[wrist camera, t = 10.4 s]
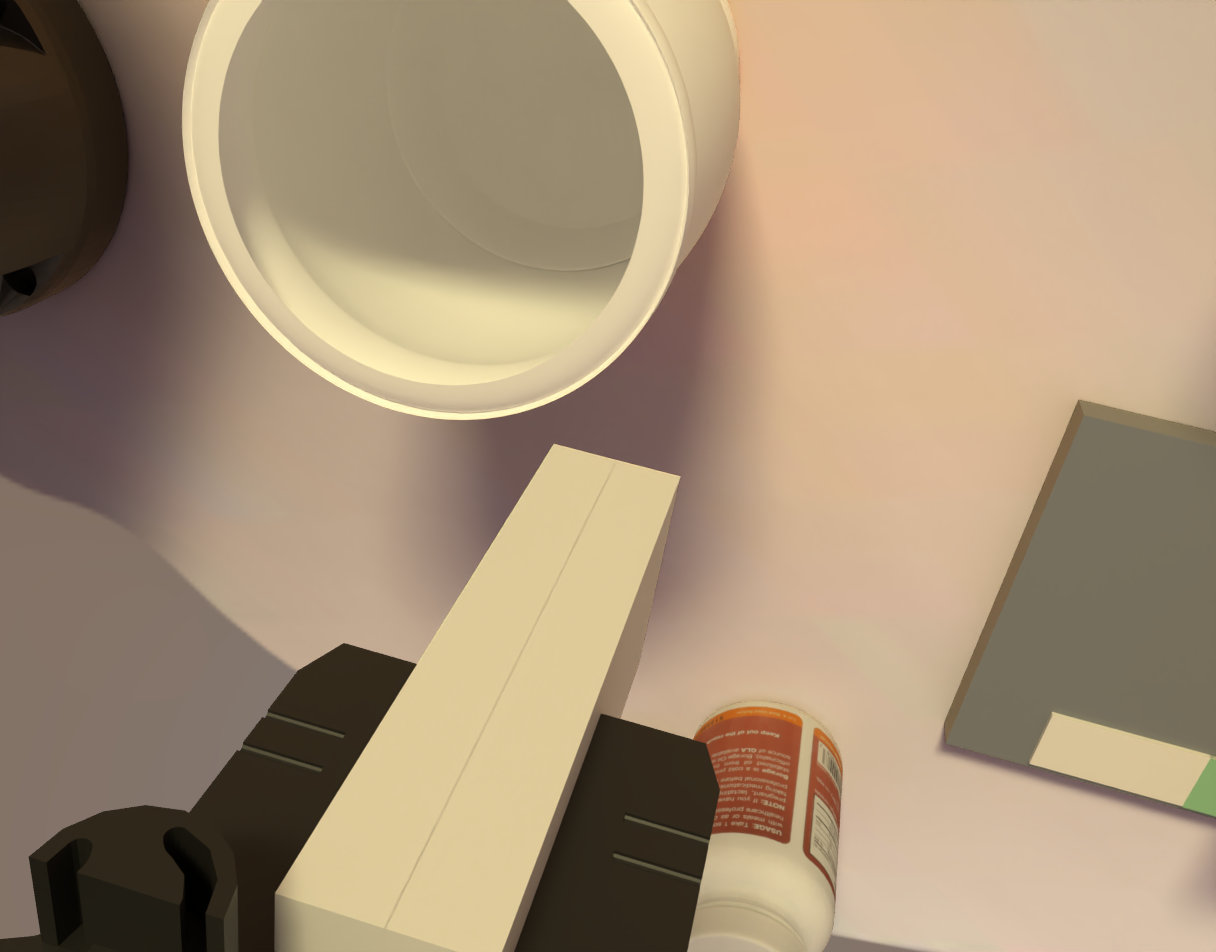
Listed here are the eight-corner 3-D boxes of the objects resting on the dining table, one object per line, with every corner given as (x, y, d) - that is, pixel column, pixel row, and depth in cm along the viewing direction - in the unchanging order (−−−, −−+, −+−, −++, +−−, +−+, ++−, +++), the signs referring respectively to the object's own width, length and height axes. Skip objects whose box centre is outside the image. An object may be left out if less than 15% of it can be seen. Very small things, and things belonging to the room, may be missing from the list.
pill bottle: (665, 760, 47) (605, 985, 37) (741, 667, 44) (696, 887, 34) (790, 833, 47) (761, 1074, 38) (875, 746, 44) (867, 986, 35)
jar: (581, 292, 38) (415, 505, 25) (379, 37, 36) (80, 128, 23) (845, 96, 33) (807, 235, 20) (632, -216, 31) (435, -281, 18)
